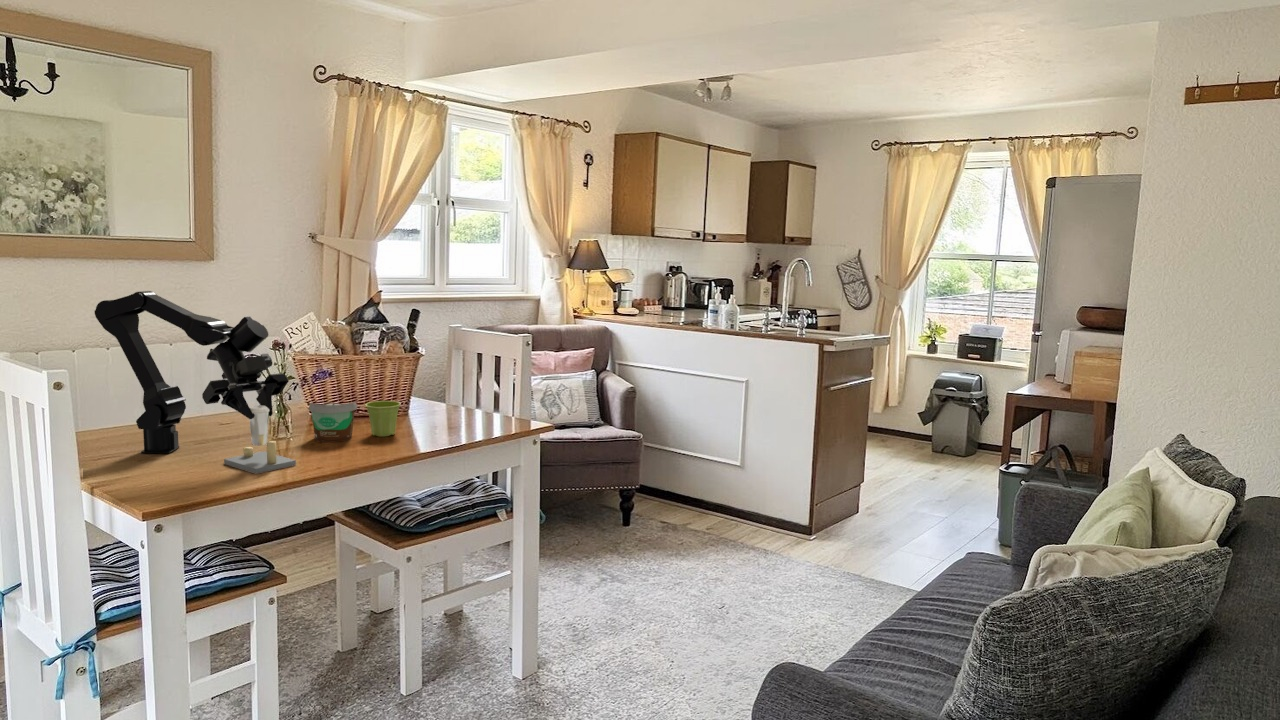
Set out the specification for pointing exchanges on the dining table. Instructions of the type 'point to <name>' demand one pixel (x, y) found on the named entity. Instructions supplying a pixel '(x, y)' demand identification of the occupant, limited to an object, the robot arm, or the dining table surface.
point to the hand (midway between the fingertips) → (261, 416)
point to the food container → (333, 421)
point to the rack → (260, 460)
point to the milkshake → (259, 425)
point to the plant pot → (383, 417)
